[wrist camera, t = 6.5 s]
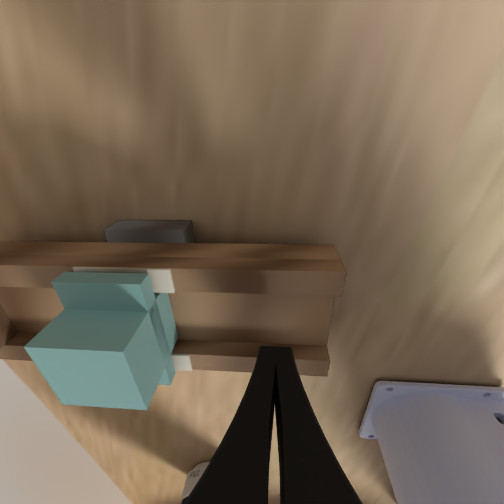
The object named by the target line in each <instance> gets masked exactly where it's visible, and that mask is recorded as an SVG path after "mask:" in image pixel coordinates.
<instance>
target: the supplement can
mask: <svg viewBox="0 0 504 504" xmlns="http://www.w3.org/2000/svg"><path fill="white" fill-rule="evenodd" d="M209 463H210V461H209V462H203V463H200V464H198V465H196V466H195V467H194V469H192V470H191V471H190V472H189V473H188V474H187V478H186V482H185V486H184V490H183V494H182V498H181V503H180V504H184V502H185V501H186V499H187V498H188V496H189V494H190V493H191V491H192V490H193V488H194V487H195V485H196V484H197V482H198V481H199V479H200V477H201V476H202V474H203V473H204V471H205V469H206V468H207V466H208V464H209Z"/></svg>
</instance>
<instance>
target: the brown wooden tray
mask: <svg viewBox="0 0 504 504" xmlns="http://www.w3.org/2000/svg"><path fill="white" fill-rule="evenodd" d="M104 234H105V237H106V239H107V242H37V241H0V359H10V360H29V361H33V360H32V359H31V357H30V356H29V354H28V353H27V351H26V350H25V348H24V346H25V345H26V344H28V343H29V342H30V341H31V340H32V339H33V338H34V337H35V336H36V335H37V334H38V333H39V332H40V331H41V330H42V329H44V328H45V327H46V326H47V325H48V324H49V323H50V322H51V321H52V320H53V319H54V318H55V317H56V316H57V315H58V314H60V313H61V312H62V311H63V310H64V307H63V305H62V303H61V301H60V299H59V297H58V295H57V293H56V291H55V289H54V287H53V285H52V283H51V282H52V281H53V280H54V279H56V278H57V277H58V276H60V275H61V274H62V273H64V272H96V273H142V274H149V277H150V281H151V284H152V288H153V291H154V293H168V295H169V299H170V304H171V308H172V312H173V316H174V320H175V324H176V328H177V333H178V339H177V341H176V343H175V346H174V348H173V350H172V353H171V357H172V361H173V364H174V368H175V370H180V371H192V370H193V369H196V370H215V371H234V372H252V373H253V370H254V367H255V363H256V360H257V356H258V351H259V347H260V346H279V347H291V348H292V349H293V355H294V359H295V363H296V366H297V370H298V373H299V375H308V376H327V375H328V369H329V364H330V359H329V354H328V350H327V341H328V335H329V329H330V323H331V317H332V311H333V305H334V299H335V296H342V293H343V288H344V282H345V277H346V270H345V268H344V265H343V263H342V261H341V259H340V256H339V254H338V252H337V250H336V247H335V245H318V244H224V243H195V240H194V233H193V227H192V220H118V221H117V222H115V223H114V224H112V225H111V226H109V227H108V228H107V229H105V230H104Z"/></svg>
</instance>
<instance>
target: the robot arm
mask: <svg viewBox="0 0 504 504" xmlns="http://www.w3.org/2000/svg"><path fill="white" fill-rule="evenodd" d="M274 405H275V412H276V426H277V439H278V452H279V467H280V504H362V502H361V500H360V499H359V497H358V495H357V494H356V492H355V490H354V489H353V487H352V485H351V484H350V482H349V480H348V478H347V477H346V475H345V473H344V471H343V470H342V468H341V466H340V464H339V462H338V460H337V459H336V457H335V455H334V453H333V451H332V449H331V447H330V445H329V443H328V441H327V439H326V437H325V435H324V433H323V431H322V429H321V427H320V425H319V423H318V421H317V418H316V416H315V414H314V412H313V409H312V407H311V405H310V402H309V400H308V397H307V395H306V392H305V390H304V387H303V384H302V382H301V379H300V376H299V373H298V370H297V366H296V363H295V359H294V355H293V349H292V348H291V347H279V346H260V347H259V351H258V356H257V360H256V363H255V367H254V370H253V373H252V376H251V378H250V381H249V384H248V386H247V389H246V391H245V394H244V396H243V398H242V401H241V403H240V405H239V407H238V410H237V412H236V414H235V416H234V418H233V420H232V422H231V424H230V426H229V428H228V430H227V432H226V434H225V436H224V438H223V440H222V442H221V443H220V445H219V447H218V449H217V450H216V452H215V454H214V456H213V457H212V459H211V461H210V463H209V464H208V466H207V468H206V469H205V471H204V473H203V474H202V476H201V477H200V479H199V481H198V482H197V484H196V485H195V487H194V488H193V490H192V491H191V493H190V494H189V496H188V498H187V499H186V501H185V502H184V504H268V481H269V462H270V451H271V439H272V428H273V417H274ZM359 435H360V437H361V438H364V439H377V440H378V443H379V447H380V450H381V453H382V456H383V459H384V463H385V466H386V469H387V472H388V475H389V479H390V482H391V485H392V488H393V491H394V495H395V498H396V501H397V504H504V388H502V387H488V386H470V385H451V384H433V383H414V382H396V381H378V382H376V383H375V385H374V388H373V391H372V394H371V397H370V400H369V403H368V406H367V409H366V412H365V414H364V417H363V420H362V423H361V426H360V429H359Z"/></svg>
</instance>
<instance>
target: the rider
mask: <svg viewBox="0 0 504 504" xmlns="http://www.w3.org/2000/svg"><path fill="white" fill-rule="evenodd" d="M51 283H52V285H53V287H54V289H55V291H56V293H57V295H58V297H59V299H60V301H61V303H62V305H63V307H64V310H63V311H62V312H61V313H60V314H58V315H57V316H56V317H55V318H54V319H53V320H52V321H51V322H50V323H49V324H48V325H47V326H46V327H45V328H44V329H42V330H41V331H40V332H39V333H38V334H37V335H36V336H35V337H34V338H33V339H32V340H31V341H30V342H29V343H28V344H26V345H25V346H24V348H25V350H26V351H27V353H28V354H29V356H30V357H31V359H32V360H33V362H34V363H35V364H36V366H37V367H38V369H39V370H40V372H41V373H42V375H43V376H44V378H45V379H46V381H47V382H48V384H49V385H50V386H51V388H52V389H53V391H54V392H55V394H56V395H57V397H58V398H59V400H60V401H61V403H62V404H63V405H78V406H93V407H107V408H122V409H136V410H147V409H148V406H149V404H150V402H151V399H152V397H153V395H154V392H155V390H156V388H157V385H158V384H159V385H171V383H172V380H173V378H174V375H175V372H176V371H175V368H174V364H173V361H172V357H171V353H172V350H173V348H174V346H175V343H176V341H177V339H178V333H177V328H176V324H175V320H174V316H173V312H172V308H171V304H170V299H169V295H168V293H154V291H153V288H152V284H151V281H150V277H149V274H142V273H96V272H64V273H62V274H61V275H60V276H58V277H57V278H56V279H54V280H53V281H52V282H51Z"/></svg>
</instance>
